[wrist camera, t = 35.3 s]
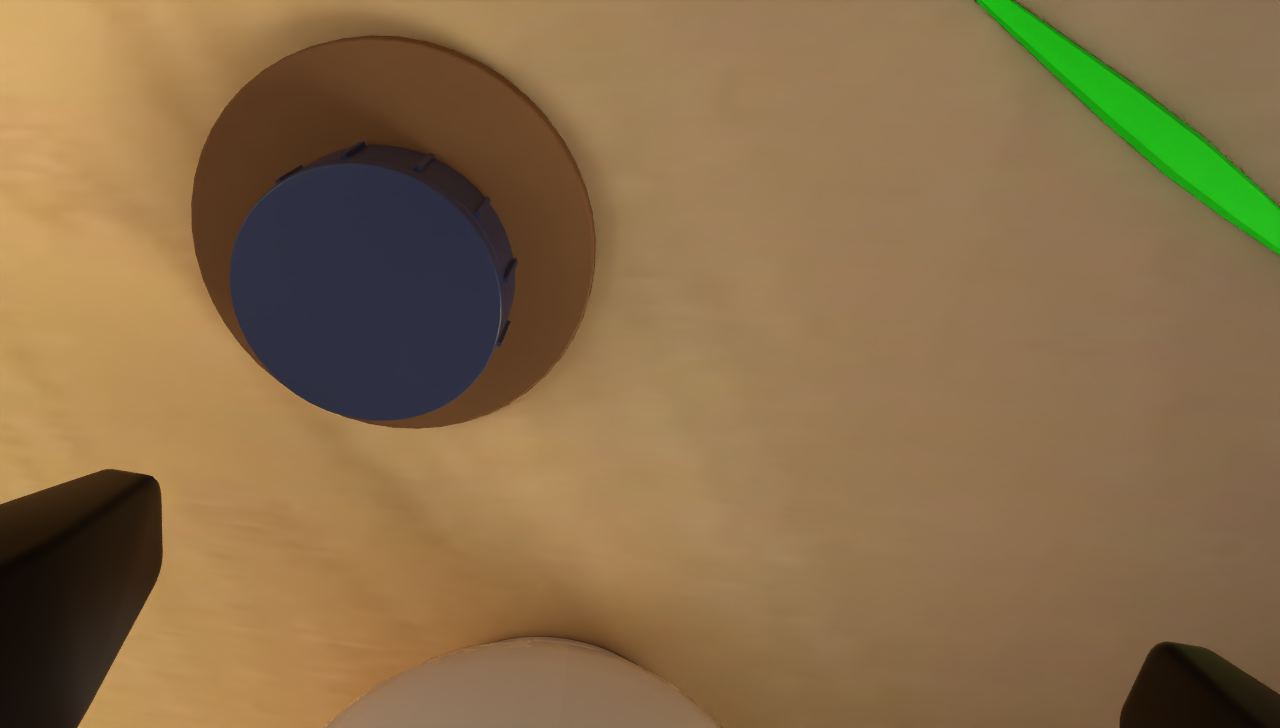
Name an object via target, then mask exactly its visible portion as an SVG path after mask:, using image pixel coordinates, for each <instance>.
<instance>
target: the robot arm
mask: <svg viewBox="0 0 1280 728" xmlns="http://www.w3.org/2000/svg"><path fill="white" fill-rule="evenodd" d="M162 556H163V547H162V504H161V489H160V486H159V483H158V482H157V480H156V479H155V478H154V477H153V476H150V475H145V474H139V473H133V472H127V471H121V470H115V469H105V470H101V471H98V472H95V473H92V474H89V475H86V476H83V477H80V478H77V479H74V480H71V481H68V482H65V483H62V484H60V485H57V486H54V487H51V488H48V489H45V490H42V491H39V492H36V493H33V494H30V495H27V496H24V497H21V498H18V499H15V500H12V501H9V502H6V503H3V504H0V728H77V727H78V726H79V724H80V722H81V720H82V719H83V717H84V715H85V713H86V712H87V710H88V708H89V706H90V704H91V703H92V701H93V699H94V697H95V695H96V693H97V691H98V689H99V688H100V686H101V684H102V682H103V680H104V678H105V676H106V675H107V673H108V671H109V669H110V667H111V665H112V663H113V662H114V660H115V658H116V656H117V654H118V652H119V650H120V649H121V647H122V645H123V643H124V641H125V639H126V637H127V635H128V634H129V632H130V630H131V628H132V626H133V624H134V622H135V621H136V619H137V617H138V615H139V613H140V611H141V609H142V608H143V606H144V604H145V602H146V600H147V598H148V596H149V595H150V593H151V591H152V589H153V587H154V585H155V583H156V581H157V578H158V576H159V573H160V569H161V565H162ZM1120 728H1280V694H1278V693H1277V692H1275V691H1273V690H1272V689H1270V688H1269V687H1267V686H1266V685H1264V684H1263V683H1261V682H1259V681H1258V680H1256V679H1255V678H1253V677H1252V676H1250V675H1249V674H1247V673H1245V672H1244V671H1242V670H1241V669H1239V668H1238V667H1236V666H1235V665H1233V664H1231V663H1230V662H1228V661H1227V660H1225V659H1224V658H1222V657H1220V656H1219V655H1217V654H1216V653H1214V652H1213V651H1211V650H1209V649H1206V648H1203V647H1199V646H1193V645H1186V644H1180V643H1174V642H1162V643H1159V644H1157V645H1155V646H1154V647H1153V648H1152V649H1151V650H1150V652H1149V654H1148V655H1147V657H1146V660H1145V662H1144V664H1143V666H1142V668H1141V670H1140V672H1139V674H1138V676H1137V678H1136V680H1135V682H1134V685H1133V687H1132V689H1131V691H1130V693H1129V695H1128V697H1127V699H1126V701H1125V703H1124V705H1123V708H1122V711H1121V716H1120Z"/></svg>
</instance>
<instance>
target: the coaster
mask: <svg viewBox="0 0 1280 728" xmlns="http://www.w3.org/2000/svg"><path fill="white" fill-rule="evenodd" d="M362 141H364V142H365V145H387V146H397V147H402V148H406V149H410V150H414V151H417V152H420V153H423V154H425V155H428V154H429V153H433V154H435V156H434V158H435V159H437V160H439V161H441V162H443V163H444V164H446V165H448V166H450V167H451V168H452V169H454V170H455V171H457V172H458V173H460V174H461V175H463V176H464V177H465V178H466V179H467V180H468V181H469V182H471V183H472V184H473V185H474V186H475V187H476V188H477V189H478V190H479V191H480V193H481V194H482V195H483V196H484V197H485V198H486V197H487V196H489V198H490V199H491V202H490V205H491V206H492V208H493V209H494V211H495V212H496V214H497V215H498V217H499V219H500V221H501V223H502V225H503V227H504V229H505V231H506V234H507V237H508V240H509V242H510V245H511V250H512V254H513V259H515V258H517V260H518V264H517V266H516V268H515V292H514V297H513V303H512V308H511V310H510V313H509V316H508V319H507V320H509V321H511V323H510V325H509V327H508V330H507V332H506V335H505V337H504V339H503V342H502V344H501V347H498V346H496V348H495V350H494V352H493V354H492V356H491V358H490V360H489V362H488V364H487V366H486V367H485V369H484V370H483V371H482V373H481V374H480V376H479V377H478V379H477V380H476V381H475V382H474V383H473V384H472V385H471V386H470V387H469V388H468V389H467V390H466V391H465V392H463V393H462V394H461V395H460V396H458V397H457V398H456V399H455V400H453V401H451V402H450V403H448V404H446V405H444V406H443V407H441V408H439V409H436V410H434V411H432V412H429V413H427V414H424V415H420V416H416V417H413V418H409V419H402V420H394V421H371V420H361V419H355V418H351V417H347V418H350V419H354V420H358V421H361V422H365V423H368V424H374V425H381V426H387V427H393V428H417V429H418V428H431V427H442V426H447V425H452V424H457V423H462V422H466V421H469V420H472V419H475V418H478V417H481V416H484V415H487V414H489V413H491V412H493V411H495V410H498V409H500V408H502V407H504V406H506V405H508V404H509V403H511V402H513V401H514V400H516V399H517V398H519V397H520V396H522V395H523V394H525V393H526V392H528V391H529V390H530V389H531V388H532V387H533V386H534V385H536V384H537V383H538V382H539V381H540V380H541V379H542V378H544V377H545V376H546V375H547V373H548V372H549V371H550V370H551V369H552V368H553V366H554V365H555V364H556V363H557V362H558V361H559V360H560V358H561V357H562V355H563V354H564V352H565V351H566V349H567V347H568V346H569V344H570V343H571V341H572V340H573V338H574V336H575V334H576V331H577V329H578V327H579V325H580V323H581V321H582V318H583V316H584V312H585V309H586V306H587V302H588V299H589V296H590V292H591V287H592V281H593V274H594V268H595V231H594V222H593V214H592V210H591V206H590V202H589V198H588V194H587V190H586V187H585V184H584V182H583V179H582V177H581V174H580V172H579V169H578V167H577V164H576V162H575V160H574V159H573V157H572V155H571V153H570V151H569V150H568V148H567V146H566V144H565V142H564V141H563V139H562V138H561V136H560V135H559V133H558V132H557V131H556V129H555V128H554V127H553V125H552V124H551V123H550V121H549V120H548V118H547V117H546V116H545V115H544V114H543V113H542V112H541V111H540V110H539V109H538V107H537V106H536V105H535V104H534V103H533V102H532V101H531V100H530V99H529V98H528V97H527V96H526V95H525V94H524V93H522V92H521V91H520V90H519V89H518V88H516V87H515V86H514V85H513V84H511V83H510V82H509V81H508V80H507V79H505V78H504V77H502V76H501V75H499V74H498V73H496V72H495V71H493V70H491V69H490V68H488V67H487V66H485V65H483V64H482V63H480V62H478V61H476V60H474V59H472V58H470V57H467V56H465V55H463V54H461V53H459V52H457V51H455V50H452V49H448V48H445V47H442V46H439V45H436V44H433V43H429V42H426V41H420V40H415V39H409V38H403V37H394V36H362V37H352V38H343V39H339V40H335V41H331V42H327V43H323V44H319V45H315V46H311V47H308V48H306V49H303V50H301V51H299V52H296V53H294V54H291V55H289V56H287V57H284V58H283V59H281V60H280V61H278V62H276V63H275V64H273V65H271V66H270V67H268V68H266V69H265V70H263V71H262V72H260V73H259V74H258V75H257V76H256V77H254V78H253V79H252V80H251V81H250V82H248V83H247V84H246V85H245V86H244V87H243V88H242V89H241V90H240V91H239V92H238V93H237V94H236V95H235V97H234V98H233V99H232V100H231V101H230V102H229V103H228V105H227V106H226V107H225V108H224V110H223V111H222V113H221V115H220V116H219V118H218V119H217V121H216V123H215V124H214V126H213V127H212V129H211V131H210V133H209V136H208V138H207V140H206V143H205V145H204V147H203V149H202V152H201V155H200V159H199V162H198V166H197V170H196V174H195V178H194V186H193V194H192V202H191V207H192V233H193V239H194V246H195V252H196V256H197V260H198V263H199V267H200V270H201V274H202V277H203V280H204V283H205V285H206V287H207V290H208V292H209V294H210V297H211V299H212V301H213V303H214V305H215V307H216V309H217V310H218V312H219V314H220V316H221V317H222V319H223V321H224V322H225V324H226V326H227V327H228V328H229V330H230V331H231V332H232V334H233V335H234V337H235V338H236V339H237V341H238V342H239V343H240V345H241V346H242V347H243V348H244V349H245V350H246V351H247V352H248V353H249V354H250V356H251V357H252V358H253V359H254V360H255V361H256V362H257V363H258V364H259V365H260V366H261V367H262V368H263V369H265V370H266V371H267V372H268V373H269V374H270V375H272V374H271V373H270V372H269V371H268V370H267V369H266V367H265V366H264V365H263V364H262V363H261V361H260V360H259V359H258V358H257V356H256V355H255V353H254V352H253V350H252V349H251V347H250V346H249V344H248V342H247V340H246V338H245V336H244V334H243V332H242V330H241V328H240V326H239V323H238V320H237V317H236V315H235V312H234V308H233V303H232V298H231V292H230V279H229V275H230V260H231V255H232V250H233V246H234V242H235V239H236V237H237V234H238V231H239V229H240V227H241V225H242V223H243V221H244V220H245V218H246V216H247V214H248V213H249V211H250V210H251V209H252V208H253V206H254V205H255V204H256V203H257V201H258V200H259V199H260V198H261V197H262V196H263V195H264V194H265V193H267V192H268V191H269V190H270V189H271V188H272V187H274V186H275V185H277V184H276V183H275V180H277V179H278V178H280V177H281V176H283V175H285V174H286V173H288V172H290V171H291V170H293V169H295V168H297V167H298V166H300V165H302V166H303V167H306V166H307V165H309V164H311V163H312V162H314V161H316V160H318V159H320V158H322V157H324V156H326V155H328V154H330V153H333V152H336V151H339V150H342V149H345V148H350V147H352V146H353V145H355V144H357V143H358V142H362ZM272 376H273V375H272ZM273 377H274V376H273ZM274 378H275V377H274ZM275 379H276V378H275ZM276 380H277V379H276ZM277 381H279V380H277ZM279 382H280V381H279ZM280 383H281V382H280ZM341 416H342V415H341ZM344 417H346V416H344Z"/></svg>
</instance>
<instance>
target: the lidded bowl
mask: <svg viewBox="0 0 1280 728" xmlns="http://www.w3.org/2000/svg"><path fill="white" fill-rule="evenodd" d="M323 728H722V727H721V726H720V725H719V724H718V723H717V722H716V721H715V720H714V719H713V718H712V717H711V716H710V715H709V714H708V713H707V712H706V711H705V710H704V709H702V708H701V707H700V706H699V705H698V704H697V703H696V702H695V701H694V700H692V699H691V698H690V697H689V696H687V695H686V694H684V693H683V692H682V691H680V690H679V689H677V688H676V687H675V686H673V685H672V684H671V683H669V682H668V681H666V680H665V679H663V678H661V677H659V676H657V675H655V674H653V673H651V672H650V671H648V670H646V669H644V668H642V667H640V666H638V665H636V664H634V663H631V662H630V661H628V660H626V659H624V658H622V657H620V656H618V655H616V654H614V653H613V652H610V651H608V650H605V649H602V648H599V647H597V646H594V645H591V644H588V643H583V642H579V641H574V640H570V639H563V638H552V637H521V638H515V639H509V640H503V641H497V642H494V643H491V644H485V645H479V646H473V647H467V648H462V649H458V650H455V651H452V652H449V653H445V654H442V655H439V656H436V657H433V658H430V659H428V660H426V661H424V662H422V663H420V664H417V665H415V666H413V667H411V668H409V669H407V670H405V671H403V672H401V673H399V674H397V675H395V676H393V677H390V678H388V679H386V680H384V681H382V682H381V683H379V684H378V685H376V686H375V687H374V688H372V689H371V690H369V691H368V692H366V693H365V694H364V695H362V696H361V697H359V698H358V699H356V700H355V701H354V702H352V703H351V704H350V705H349V706H348V707H346V708H345V709H344V710H343V711H341V712H340V713H339V714H338V715H337V716H335V717H334V718H333V719H332V720H330V721H329V722H328V723H327V724H326V725H325V726H324V727H323Z"/></svg>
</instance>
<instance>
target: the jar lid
mask: <svg viewBox="0 0 1280 728" xmlns="http://www.w3.org/2000/svg"><path fill="white" fill-rule="evenodd" d="M434 156H435V154H433V153H429V154H428V155H425V154H423V153H420V152H417V151H414V150H410V149H406V148H402V147H397V146H387V145H365V142H364V141H362V142H358V143H357V144H355V145H353V146H352V147H350V148H345V149H342V150H339V151H336V152H333V153H330V154H328V155H326V156H324V157H322V158H320V159H318V160H316V161H314V162H312V163H311V164H309V165H307V166H306V167H303V166H302V165H300V166H298V167H297V168H295V169H293V170H291V171H290V172H288V173H286V174H285V175H283V176H281V177H280V178H278V179H277V180H275V183H276V184H277V185H275V186H274V187H272V188H271V189H270V190H269V191H268V192H267V193H265V194H264V195H263V196H262V197H261V198H260V199H259V200H258V201H257V203H256V204H255V205H254V206H253V208H252V209H251V210H250V211H249V213H248V214H247V216H246V218H245V220H244V221H243V223H242V225H241V227H240V229H239V231H238V234H237V237H236V239H235V242H234V246H233V250H232V255H231V260H230V275H229V279H230V292H231V298H232V303H233V308H234V312H235V315H236V317H237V320H238V323H239V326H240V328H241V330H242V332H243V334H244V336H245V338H246V340H247V342H248V344H249V346H250V347H251V349H252V350H253V352H254V353H255V355H256V356H257V358H258V359H259V360H260V361H261V363H262V364H263V365H264V366H265V367H266V369H267V370H268V371H269V372H270V373H271V374H272V375H273V376H274V377H275V378H276V379H277V380H279V381H280V382H281V383H282V384H283V385H284V386H286V387H287V388H288V389H290V390H291V391H292V392H294V393H295V394H296V395H298V396H300V397H301V398H303V399H305V400H306V401H308V402H310V403H312V404H314V405H316V406H318V407H320V408H322V409H325V410H327V411H330V412H333V413H336V414H339V415H342V416H346V417H351V418H355V419H361V420H371V421H394V420H402V419H409V418H413V417H416V416H420V415H424V414H427V413H429V412H432V411H434V410H436V409H439V408H441V407H443V406H444V405H446V404H448V403H450V402H451V401H453V400H455V399H456V398H457V397H458V396H460V395H461V394H462V393H463V392H465V391H466V390H467V389H468V388H469V387H470V386H471V385H472V384H473V383H474V382H475V381H476V380H477V379H478V377H479V376H480V374H481V373H482V371H483V370H484V369H485V367H486V366H487V364H488V362H489V360H490V358H491V356H492V354H493V352H494V350H495V348H496V346H498V347H501V344H502V342H503V339H504V337H505V335H506V332H507V330H508V327H509V325H510V323H511V321H509V320H507V319H508V316H509V313H510V310H511V308H512V303H513V297H514V292H515V268H516V266H517V264H518V260H517V258H515V259H513V254H512V250H511V245H510V242H509V240H508V237H507V234H506V231H505V229H504V227H503V225H502V223H501V221H500V219H499V217H498V215H497V214H496V212H495V211H494V209H493V208H492V206H491V205H490V202H491V199H490V198H489V196H487V197H486V198H485V197H484V196H483V195H482V194H481V193H480V191H479V190H478V189H477V188H476V187H475V186H474V185H473V184H472V183H471V182H469V181H468V180H467V179H466V178H465V177H464V176H463V175H461V174H460V173H458V172H457V171H455V170H454V169H452V168H451V167H450V166H448V165H446V164H444V163H443V162H441V161H439V160H437V159H435V158H434Z"/></svg>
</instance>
